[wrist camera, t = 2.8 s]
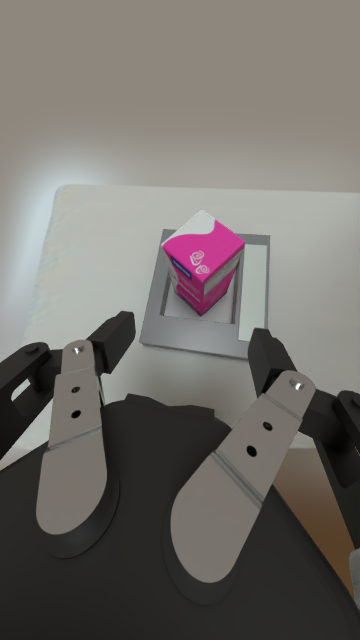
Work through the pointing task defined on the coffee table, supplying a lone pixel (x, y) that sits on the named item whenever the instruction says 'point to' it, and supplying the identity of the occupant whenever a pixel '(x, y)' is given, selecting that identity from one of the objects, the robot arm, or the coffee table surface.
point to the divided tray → (206, 334)
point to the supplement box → (202, 260)
